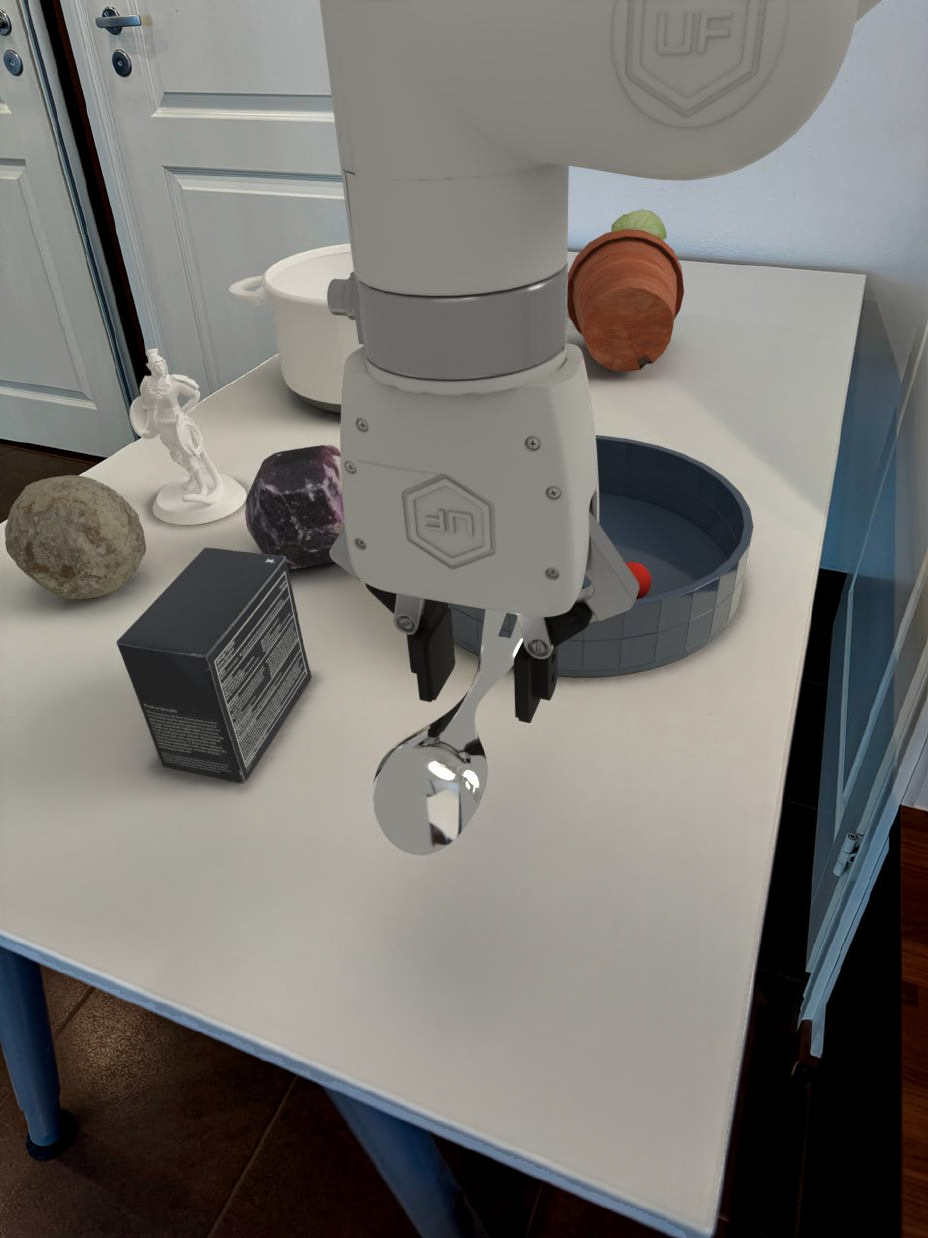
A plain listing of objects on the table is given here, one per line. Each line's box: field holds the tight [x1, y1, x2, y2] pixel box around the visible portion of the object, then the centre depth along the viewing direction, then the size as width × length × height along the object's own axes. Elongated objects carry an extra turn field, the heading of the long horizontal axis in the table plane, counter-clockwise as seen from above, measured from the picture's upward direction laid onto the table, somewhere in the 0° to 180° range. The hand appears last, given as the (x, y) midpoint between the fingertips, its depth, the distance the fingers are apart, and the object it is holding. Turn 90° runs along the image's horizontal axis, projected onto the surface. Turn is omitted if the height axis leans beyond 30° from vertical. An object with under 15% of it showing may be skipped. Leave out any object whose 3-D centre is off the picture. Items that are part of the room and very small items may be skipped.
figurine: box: [129, 347, 248, 526], centre depth 79 cm, size 9×9×15 cm
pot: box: [228, 243, 363, 414], centre depth 100 cm, size 33×23×14 cm
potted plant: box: [567, 208, 685, 373], centre depth 112 cm, size 16×15×35 cm
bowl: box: [448, 434, 754, 678], centre depth 70 cm, size 26×26×6 cm
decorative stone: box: [4, 474, 147, 600], centre depth 70 cm, size 10×8×10 cm
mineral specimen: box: [244, 444, 345, 571], centre depth 73 cm, size 10×10×10 cm
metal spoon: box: [372, 609, 522, 856], centre depth 42 cm, size 20×4×5 cm
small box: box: [116, 547, 312, 783], centre depth 56 cm, size 11×6×10 cm, turn 164°
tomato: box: [626, 562, 651, 599], centre depth 67 cm, size 3×3×3 cm
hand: (484, 690), depth 43 cm, fingers closed on metal spoon, 4 cm apart
